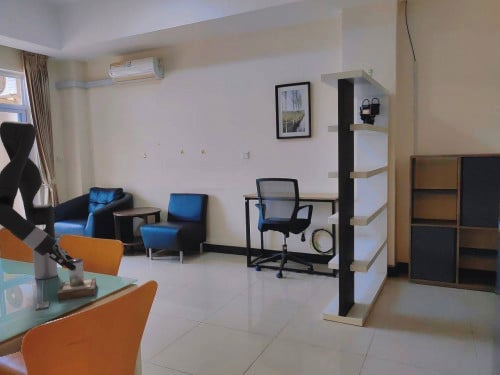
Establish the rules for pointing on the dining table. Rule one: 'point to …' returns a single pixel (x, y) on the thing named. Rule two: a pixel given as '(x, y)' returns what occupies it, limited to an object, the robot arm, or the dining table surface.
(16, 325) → the dining table surface
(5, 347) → the dining table surface
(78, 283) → the housing
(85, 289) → the stand
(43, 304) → the bracket plate
